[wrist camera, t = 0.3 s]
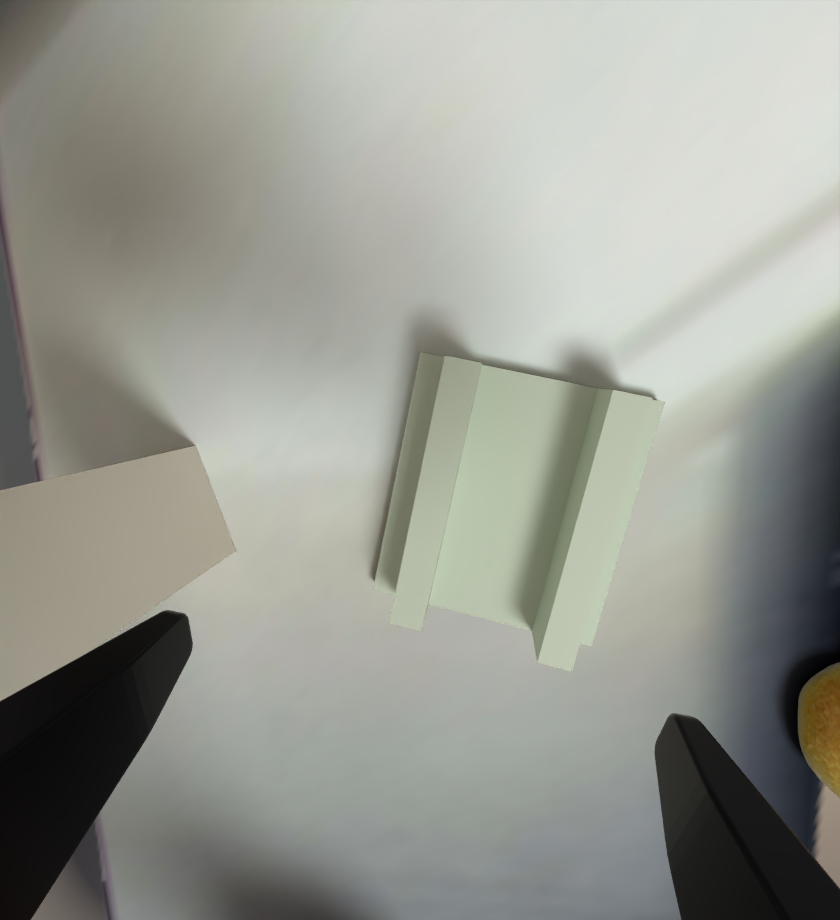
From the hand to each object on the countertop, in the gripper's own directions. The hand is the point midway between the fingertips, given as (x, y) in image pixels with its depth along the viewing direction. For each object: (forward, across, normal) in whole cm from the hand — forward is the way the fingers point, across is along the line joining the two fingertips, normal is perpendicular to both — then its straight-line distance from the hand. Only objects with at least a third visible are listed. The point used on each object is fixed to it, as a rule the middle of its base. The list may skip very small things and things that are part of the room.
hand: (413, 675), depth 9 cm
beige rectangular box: (+14, +14, +8) cm, 21 cm away
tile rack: (+15, -2, +4) cm, 15 cm away
